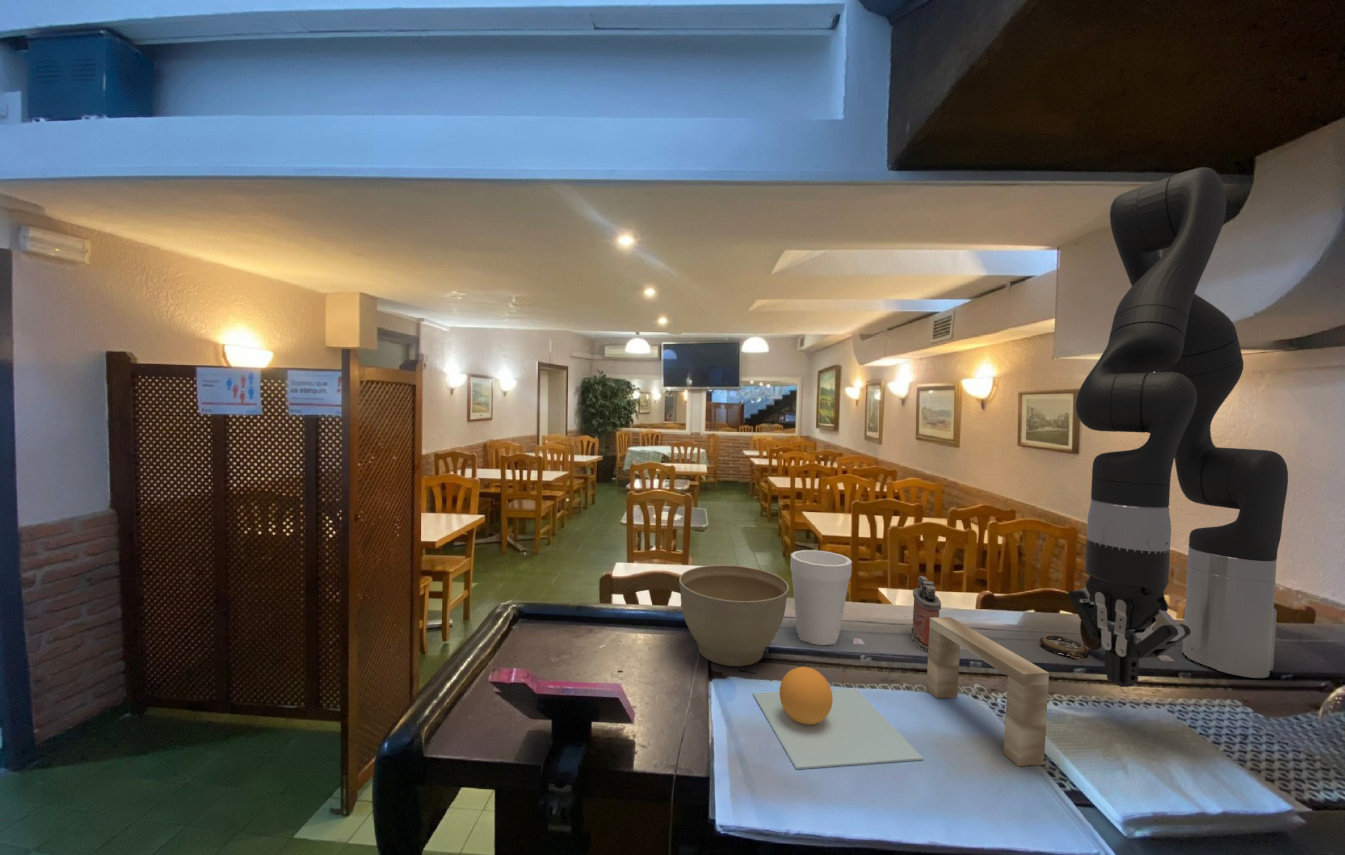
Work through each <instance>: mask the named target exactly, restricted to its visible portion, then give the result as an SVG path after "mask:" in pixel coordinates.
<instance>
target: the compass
mask: <svg viewBox="0 0 1345 855" xmlns="http://www.w3.org/2000/svg"><path fill="white" fill-rule="evenodd" d="M1093 621H1094V623H1095V625H1096V626H1097V624H1096V622H1095V620H1093ZM1079 627H1080V628H1079V629H1080V630H1079V632H1080V637H1081V640H1082V642H1083V644H1084V645H1083V644H1082V643H1080V641H1078V640H1075V639H1073V638H1069V637H1067V636H1062V635H1054V634H1049V635H1046V636H1044V637H1040V639H1039V645H1040V646H1041V647H1042V646H1044V648H1043V649H1045V648H1047V649H1048V650H1049V652H1050V651H1054V652H1056V653H1062V654H1064V655H1069V656H1070V657H1069V658H1073V659H1075V660H1083V659H1084V658H1086V657H1087V656H1088V654H1087V653H1088V652H1089V651H1090V650H1099V649H1101V648H1102V647H1103V646H1102V643H1101V642H1100V641H1099V640H1098V639H1093V638H1091V637H1090V636H1089V634H1088V632H1087V630H1086V629H1085V627H1084V625H1083V623H1082V621H1081V620H1080V626H1079ZM1097 628H1098V626H1097ZM1048 650H1047V651H1048ZM1085 656H1086V657H1085ZM1076 657H1082V658H1076Z"/></svg>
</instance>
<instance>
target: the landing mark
mask: <svg viewBox="0 0 1345 855" xmlns="http://www.w3.org/2000/svg"><path fill="white" fill-rule="evenodd" d="M831 691H832V697H833V701H832V707H831V710H830V712H829V714H828V715H827V717H826V718H825V719H824V720H822V721H821V722H819V723H817V724H813V725H806V724H801V723H799V722H797V721H795V720H793V719H792V718H791V717H790V716H789V715H788V714H787V713H786V712H785V710H784V708H783V706H782V704H781V700H780V691H776V692H775V691H773V692H772V691H770V692H769V691H768V692H755V693H752V696H753V695H754V696H753V697H755V698H754V699H755V701H756V700H757V701H756V703H757V702H758V703H757V704H758V707H760V710H761V709H762V710H761V711H762V713H763V715H764V716H765V718H766V720H767V722H768V723H769V725H770V727H771V728H772V730H773V732H774V733H775V736H776V737H777V739H778V740H779V742H780V744H781V745H782V748H783V749H784V751H785V753H786V754H787V756H788V758H789V759H790V761H791V762H792V765H793V766H794V769H795V770H805V769H806V770H807V769H809V770H810V769H820V768H832V767H846V766H847V767H848V766H860V765H862V766H863V765H873V764H874V765H875V764H889V763H900V762H901V763H902V762H915V761H924V757H923V756H922V755H921V754H920V753H919V752H918V751H917V750H916V749H915V748H914V747H913V745H912V744H910V743H909V742H908V741H907V739H905V738H904V737H903V735H902V734H900V733H899V731H898V730H897V729H896V728H895V727H894V726H893V725H892V724H891V723H890V722H889V721H888V720H887V719H886V718H885V717H884V716H883V715H882V714H881V713H880V711H879V710H878V709H876V708H875V707H874V705H873V704H872V703H870V701H869V700H867V698H866V697H865V696H864V695H863V694H862V693H861V692H860V691H859V690H858V689H857V688H856V687H855V688H853V687H852V688H851V687H850V688H836V689H835V688H834V689H833V688H831ZM778 695H779V696H778Z"/></svg>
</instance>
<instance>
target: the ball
mask: <svg viewBox="0 0 1345 855" xmlns="http://www.w3.org/2000/svg"><path fill="white" fill-rule="evenodd" d="M831 689H832V688H831V686H830V683H829V681H828V680H827V679H826V677H825V676H824V675H822V673H820V672H819V671H818V670H816V669H814V668H813V667H812V668H811V667H807V666H799V667H795V668H792V669H791V670H789V671H788V672H787V673H786V674H785V675H784V676H783V678H782V679H781V682H780V686H779V692H780V700H781V704H782V706H783V708H784V710H785V712H786V713H787V714H788V715H789V716H790V717H791V718H792V719H793V720H795V721H797V722H799V723H801V724H806V725H813V724H817V723H819V722H821V721H822V720H824V719H825V718H826V717H827V715H828V714H829V712H830V710H831V707H832V701H833V697H832V691H831Z"/></svg>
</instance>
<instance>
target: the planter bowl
mask: <svg viewBox="0 0 1345 855" xmlns="http://www.w3.org/2000/svg"><path fill="white" fill-rule="evenodd" d="M678 584H679V590H680V605H681V611H682V615H683V618H684V621H685V623H686V626H687V627H688V630H689V631H690V634H691V635H692V637H693V639H694V640H695V641H696V643H697V646H698V651H699V653H700V655H701V656H703V657H704V659H707V660H708V661H710V662H712V663H715V664H719V665H722V666H727V667H745V666H750V665H753V664H757V663H758V662H759V661H760V660H762V658H763V656H764V653H765V649H766V648H767V647H768V646H769V645H770V644H771V643H772V641H773V640H774V639H775V637H776V635H777V633H778V632H779V630H780V628H781V625H782V622H783V619H784V616H785V613H786V612H785V611H786V606H787V598H788V596H789V590H790V587H789V584H788V582H787V581H786V580H785V579H783V578H782V577H781V576H779V575H777V574H774V573H772V572H769V571H767V570H762V569H760V568H759V569H758V568H753V567H748V566H742V565H732V564H715V565H713V564H712V565H704V566H703V565H702V566H698V567H693V568H690V569H688V570H686V571H684V572H683V573H681V575H680V576H679V579H678Z"/></svg>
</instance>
